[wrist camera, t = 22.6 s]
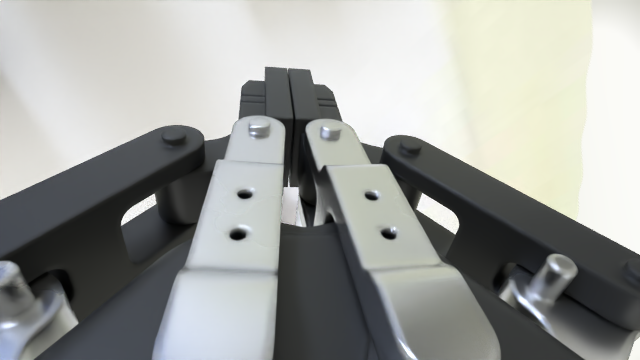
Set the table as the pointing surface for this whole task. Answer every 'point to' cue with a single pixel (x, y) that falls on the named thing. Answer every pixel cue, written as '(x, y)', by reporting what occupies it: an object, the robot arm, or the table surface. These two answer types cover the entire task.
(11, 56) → the table surface
